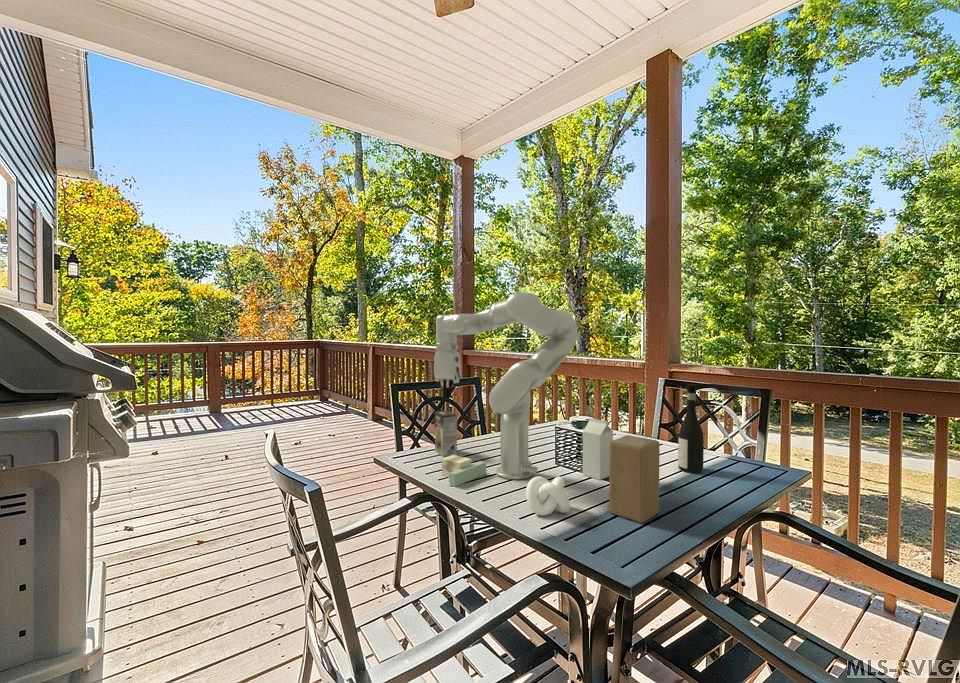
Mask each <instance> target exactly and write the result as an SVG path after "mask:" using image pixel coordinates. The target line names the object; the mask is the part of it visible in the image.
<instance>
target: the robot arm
mask: <svg viewBox="0 0 960 683" xmlns="http://www.w3.org/2000/svg"><path fill="white" fill-rule="evenodd" d="M515 323H520V324H523V325H524V326H525V327H527V328H529V329H530V330H532V331H534V332H535V333H536V334H539V335H541V336H543V337H548V338H547V339H546V340H545V342H543V343H542V344H541V345H540V346H539V348H538V349H537V350H536V351H535V352H534V353H533V355H532V356H531V357H529V358H528V359H524V360H520V361H518V362H516V363H514V364H513V365H512V366H510V368H508V369H507V371H506V372H505V373H504V375H503V376H501V378H500V379H499V381H498V382H497V383H496V384H495V385H494V386H493V388H492V389H491V390H490V392H489V396H488V403H489V404H488V405H489V406H490V409H491V410H492V411H493V412H495V413H497V414H500V415H501V416H500V466H498V467H497V468H496V470H495V472H496V473H495V474H496V475H497V476H498V477H500V478H502V479H508V480H523V479H524V480H525V479H528V478H530V477H532V476H533V475H537V473H538V466H534V465H533V464H532V460H529V459H530V458H529V457H530V456H529V455H530V454H529V428H530V427H529V420H530V417H529V416H530V408H531V398H532V397H531V395H532V394H531V390H533V389H536V388H537V389H538V388H539V387H541V386H542V385H543V384H545V382H546V381H547V380H548V379H549V377H550V376H551V375H552V374H553V373H554V372H555V371H556V370H557V368H558V367H559V366H560V365H561V363H562V362H563V361H564V360H565V359H566V358H567V356H568V355H569V354H570V353H571V352H572V350H573V349H574V346H575V345H576V342H577V340H578V326H577V323H576V320H575V318H574V317H573V315H572V314H570V313H569V312H568V311H566V310H562V309H551V308H550V307H548V306H546V305H544V304H542V301H541V299H540V298H539V296H538V295H536V294H534V293H531V292H523V291H518V292H514V293H513V294H511V295H510V296H509V297H508V298H506V299H504V300H499V301H497V302H494V303H492V304H491V308H488V309H485V310H483V311H480V312H476V313H455V314H439V315H437V316H436V318H435V341H436V342H435V350H436V352H434V359H433V376H434V380H435V382H437V383H439V384H440V387H441V388H442V399H447V400H448V399H451V398H453V397H452V396H453V394H452V393H453V391H452V390H453V387H454V385H455V384H459V383H460V379H461V378H462V364H461V362H462V361H461V357H460V352H458V351H457V350H459V345H458V344H457V343H458V342H457V341H458V339H457V336H464V335H476V334H480V333H485V332H489V331H492V330H495V329H499V328H501V327H505V326H508V325H512V324H515Z"/></svg>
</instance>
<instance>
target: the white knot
mask: <svg viewBox="0 0 960 683" xmlns="http://www.w3.org/2000/svg"><path fill="white" fill-rule="evenodd" d="M565 485H566V481H565V478H564V477H563V476H561V475H560V476H556V477H555V478H554V479H553V480H551V482H550V481H549V480H548V479H547V478H545V477H542V476H540V475H539V476H534V477H533V478H531V479H530V480H529V481H528V483H527V486H526V489H525V495H526V501H527V504H528V506H529V508H530V510H531V511H532V512H533V513H535V514H536V515H538V516H542V517H544V516H548V515H550V514H552V513H553V512H554V511H555V510H556V511H557V512H559V513H561V514H567V513H568V512H570V510H571V502H570V499H569V497H568V495H567V494H566V493H565V492H564V488H565Z"/></svg>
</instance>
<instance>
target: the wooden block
mask: <svg viewBox="0 0 960 683" xmlns="http://www.w3.org/2000/svg"><path fill="white" fill-rule="evenodd" d="M608 494H609V506H608V507H609V508H608V510H609V513H610V514H613V515H616V516H618V517H622V518H624V519H627V520H628V519H629V520H630V521H631V520H632V521H634V522H636V523H641V524H643V523H645V522H647V521H648V520H650V519H651V518H653V517H654V516H656V515H658V514H659V511H660V442H659V441H658V440H656V439H651V438H645V437H639V436H635V435H630V434H627V435H624V436H621V437H618V438H614V439H613V440H612V441H611V442H610V476H609V493H608Z"/></svg>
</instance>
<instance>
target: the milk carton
mask: <svg viewBox="0 0 960 683" xmlns="http://www.w3.org/2000/svg"><path fill="white" fill-rule="evenodd" d="M612 440H614V431H613V430H612V429H611V427H610V426H609V425H608V420H602V419H597V418H592V417H589V418H588V422H587V424H586V426H585V427H584V428H583V431H582V475H583V476H586V477H590V478H593V479H596V480H599V481H601V480H604V479H607V478H610V442H611V441H612Z"/></svg>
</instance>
